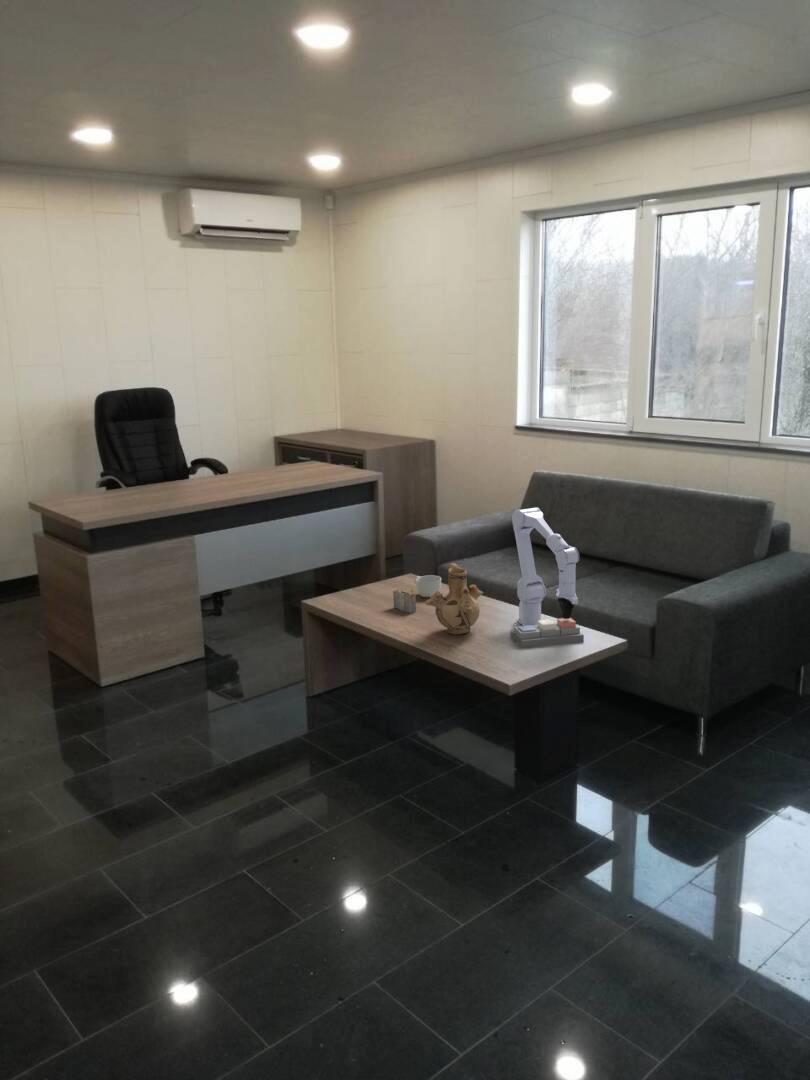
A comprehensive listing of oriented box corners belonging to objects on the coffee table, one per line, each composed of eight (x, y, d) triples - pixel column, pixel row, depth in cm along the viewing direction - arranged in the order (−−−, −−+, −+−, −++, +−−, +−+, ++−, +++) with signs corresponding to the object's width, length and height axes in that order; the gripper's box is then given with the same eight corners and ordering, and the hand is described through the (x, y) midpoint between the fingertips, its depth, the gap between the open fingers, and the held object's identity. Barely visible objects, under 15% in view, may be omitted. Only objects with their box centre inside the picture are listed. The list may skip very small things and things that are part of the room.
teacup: (446, 597, 364) (446, 579, 362) (424, 601, 358) (424, 582, 357) (429, 590, 375) (429, 572, 374) (408, 593, 370) (407, 575, 369)
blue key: (517, 633, 306) (517, 626, 306) (531, 631, 308) (531, 625, 307) (522, 637, 302) (522, 630, 301) (536, 636, 303) (536, 629, 302)
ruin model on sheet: (417, 613, 343) (416, 589, 341) (411, 614, 342) (410, 591, 340) (399, 607, 352) (399, 584, 350) (393, 608, 350) (393, 585, 348)
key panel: (510, 637, 310) (510, 625, 309) (569, 631, 315) (569, 619, 314) (522, 647, 299) (522, 635, 298) (583, 641, 304) (583, 629, 303)
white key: (537, 627, 308) (537, 620, 307) (550, 626, 309) (550, 619, 308) (542, 631, 303) (542, 624, 303) (556, 630, 304) (556, 623, 304)
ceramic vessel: (424, 635, 314) (423, 569, 309) (446, 620, 331) (445, 558, 326) (470, 642, 306) (470, 574, 301) (490, 626, 323) (490, 562, 317)
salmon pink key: (557, 625, 309) (557, 618, 309) (570, 624, 310) (570, 617, 310) (562, 629, 305) (562, 622, 304) (575, 628, 306) (575, 621, 305)
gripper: (548, 577, 310) (548, 613, 313) (564, 587, 296) (564, 625, 299) (566, 576, 312) (566, 611, 314) (583, 586, 298) (583, 623, 301)
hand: (566, 618), depth 307 cm, fingers closed
